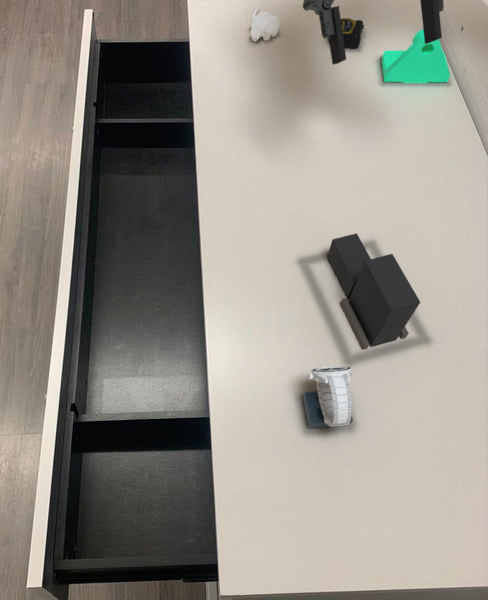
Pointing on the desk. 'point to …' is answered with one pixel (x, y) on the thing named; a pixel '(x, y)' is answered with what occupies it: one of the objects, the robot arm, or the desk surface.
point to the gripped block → (382, 300)
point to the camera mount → (416, 63)
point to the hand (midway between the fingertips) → (386, 51)
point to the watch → (329, 398)
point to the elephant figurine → (263, 25)
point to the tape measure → (351, 32)
